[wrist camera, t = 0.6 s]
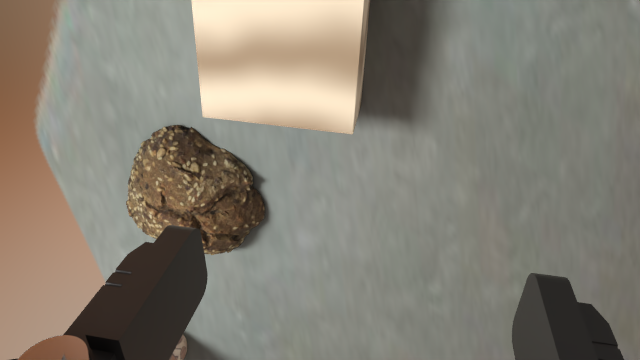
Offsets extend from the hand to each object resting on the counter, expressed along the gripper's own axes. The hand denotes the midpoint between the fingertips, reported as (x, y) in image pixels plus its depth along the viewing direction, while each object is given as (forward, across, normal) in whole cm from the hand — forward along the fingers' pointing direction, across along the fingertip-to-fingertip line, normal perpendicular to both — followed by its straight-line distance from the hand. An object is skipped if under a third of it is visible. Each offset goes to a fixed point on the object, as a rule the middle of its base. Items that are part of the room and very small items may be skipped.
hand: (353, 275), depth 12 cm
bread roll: (+26, +17, +17) cm, 36 cm away
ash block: (+26, +8, +1) cm, 27 cm away
